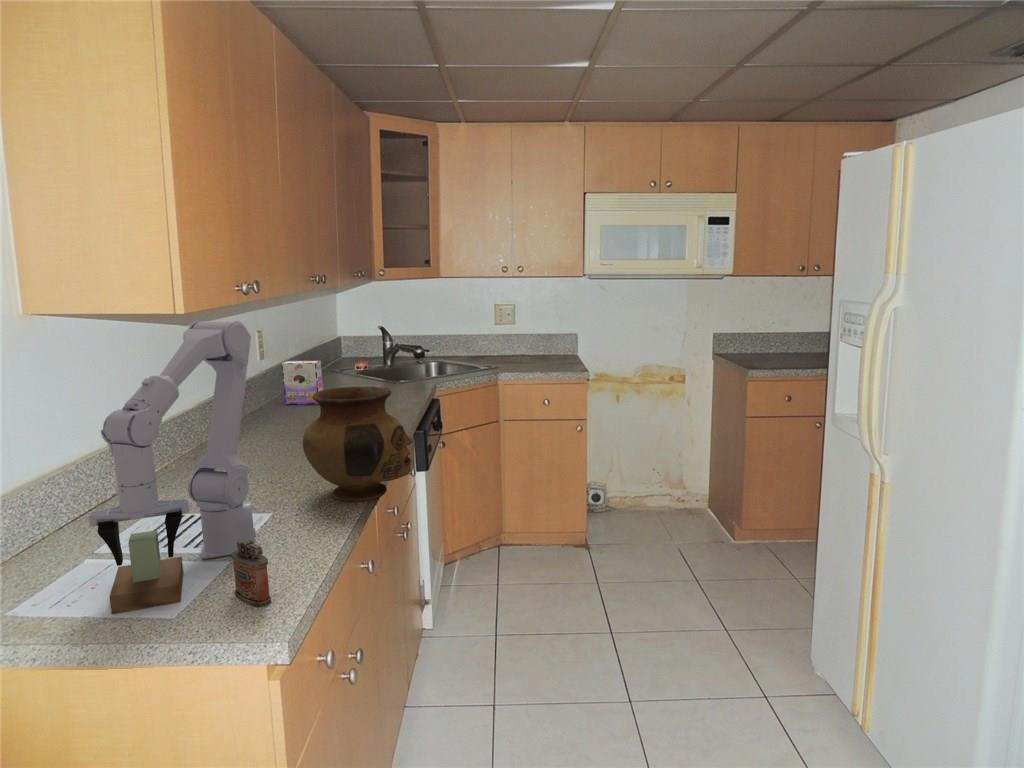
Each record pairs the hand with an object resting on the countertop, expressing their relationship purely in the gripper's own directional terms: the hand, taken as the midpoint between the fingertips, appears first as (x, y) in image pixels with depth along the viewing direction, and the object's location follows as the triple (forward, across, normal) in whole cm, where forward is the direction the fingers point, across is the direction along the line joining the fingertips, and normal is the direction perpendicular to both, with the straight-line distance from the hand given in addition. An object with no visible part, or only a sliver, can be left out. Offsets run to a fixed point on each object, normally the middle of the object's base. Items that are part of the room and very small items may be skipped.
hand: (145, 559), depth 118 cm
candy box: (+6, +43, +152) cm, 158 cm away
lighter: (+6, +16, -10) cm, 20 cm away
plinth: (+6, 0, 0) cm, 6 cm away
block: (+3, 0, 0) cm, 3 cm away
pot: (+6, +42, +36) cm, 56 cm away
